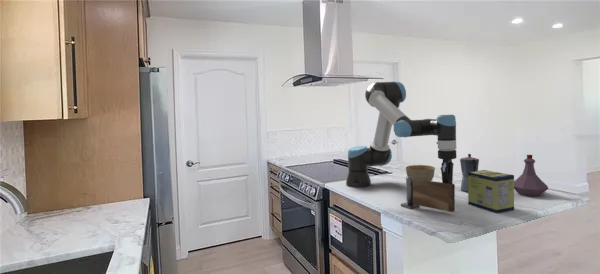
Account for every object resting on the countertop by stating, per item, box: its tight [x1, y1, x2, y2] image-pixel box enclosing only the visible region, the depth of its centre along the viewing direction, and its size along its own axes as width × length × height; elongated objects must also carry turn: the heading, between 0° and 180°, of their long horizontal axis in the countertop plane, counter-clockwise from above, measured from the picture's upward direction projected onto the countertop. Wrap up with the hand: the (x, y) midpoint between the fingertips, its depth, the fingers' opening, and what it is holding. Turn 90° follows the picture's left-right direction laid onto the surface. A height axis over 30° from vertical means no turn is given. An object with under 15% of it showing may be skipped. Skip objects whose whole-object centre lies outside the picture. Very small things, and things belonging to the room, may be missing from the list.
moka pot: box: [459, 153, 480, 193], centre depth 176 cm, size 10×15×20 cm, turn 174°
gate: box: [412, 179, 456, 213], centre depth 146 cm, size 3×18×12 cm, turn 43°
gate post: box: [400, 176, 421, 210], centre depth 154 cm, size 6×6×14 cm
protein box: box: [467, 169, 515, 214], centre depth 148 cm, size 10×16×16 cm
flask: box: [514, 154, 549, 198], centre depth 166 cm, size 16×16×20 cm
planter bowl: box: [405, 164, 436, 181], centre depth 194 cm, size 16×16×11 cm
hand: (448, 201), depth 147 cm, fingers closed
